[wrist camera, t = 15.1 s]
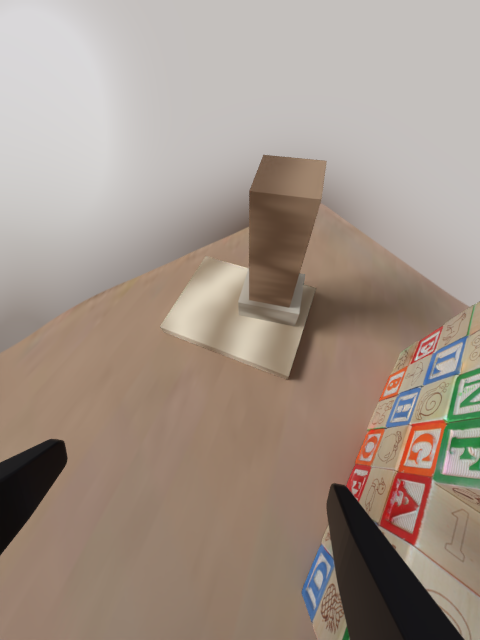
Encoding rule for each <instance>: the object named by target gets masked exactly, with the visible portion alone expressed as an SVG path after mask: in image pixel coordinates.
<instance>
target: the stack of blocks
mask: <svg viewBox="0 0 480 640" xmlns="http://www.w3.org/2000/svg"><path fill="white" fill-rule="evenodd" d="M367 430H368V432H367V435H366V436H365V440H364V442H363V445H362V447H361V449H360V452H359V454H358V456H357V459H356V461H355V466H354V468H353V471H352V473H351V475H350V478H349V480H348V483H347V485H346V487H347V488H348V489H349V490H350V491H351V493H352V494H353V495H354V497H355V498H356V499H357V500H358V502H359V503H360V504H361V506H362V507H363V508H364V510H365V511H366V512H367V513H368V515H369V516H370V517H371V519H372V520H373V521H374V522H375V524H376V525H377V526H378V528H379V529H380V530H381V532H382V533H383V534H384V535H385V537H386V538H387V539H388V541H389V542H390V543H391V545H392V546H393V547H394V548H395V550H396V551H397V552H398V554H399V555H400V556H401V558H402V559H403V560H404V561H405V563H406V564H407V565H408V567H409V568H410V569H411V571H412V572H413V573H414V574H415V576H416V577H417V578H418V580H419V581H420V582H421V584H422V585H423V586H424V587H425V589H426V590H427V591H428V593H429V594H430V595H431V596H432V598H433V599H434V600H435V602H436V603H437V604H438V606H439V607H440V608H441V609H442V611H443V612H444V613H445V615H446V616H447V617H448V619H449V620H450V621H451V622H452V624H453V625H454V626H455V628H456V629H457V630H458V632H459V633H460V634H461V635H462V637H463V638H464V639H465V640H480V302H479V303H477V304H474V305H472V306H471V307H469V308H468V309H466V310H465V311H463V312H461V313H460V314H458V315H457V316H456V317H454V318H452V319H451V320H449V321H448V322H446V323H445V324H444V326H442V327H440V328H439V329H437V330H435V331H434V332H432V333H431V334H429V335H428V336H426V337H425V338H423V339H422V340H420V341H417V342H415V343H414V344H412V345H411V346H409V347H408V348H407V349H405V350H404V351H402V352H401V353H400V355H399V358H398V360H397V362H396V365H395V367H394V369H393V372H392V374H391V375H390V376H389V379H388V381H387V383H386V386H385V388H384V390H383V393H382V395H381V397H380V400H379V403H378V405H377V407H376V409H375V411H374V414H373V416H372V418H371V421H370V423H369V426H368V429H367ZM302 596H303V599H304V601H305V604H306V607H307V610H308V613H309V616H310V619H311V622H312V623H313V628H314V631H315V634H316V636H317V639H318V640H350V637H349V633H348V629H347V624H346V620H345V615H344V611H343V606H342V602H341V597H340V593H339V588H338V583H337V578H336V572H335V566H334V559H333V552H332V544H331V537H330V530H329V524H328V527H327V529H326V532H325V534H324V536H323V539H322V543H321V546H320V548H319V550H318V552H317V554H316V557H315V559H314V562H313V564H312V567H311V569H310V572H309V574H308V577H307V579H306V582H305V584H304V586H303V589H302Z"/></svg>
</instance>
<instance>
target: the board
mask: <svg viewBox="0 0 480 640" xmlns="http://www.w3.org/2000/svg"><path fill="white" fill-rule="evenodd" d="M247 272H248V268H245V267H242V266H238V265H235V264H232V263H228V262H225V261H221V260H218V259H214V258H211V257H208V256H206V257H205V258H204V260H203V261H202V263H201V264H200V266H199V268H198V269H197V271H196V272H195V274H194V275H193V277H192V278H191V280H190V281H189V283H188V284H187V286H186V287H185V289H184V291H183V292H182V294H181V295H180V297H179V298H178V300H177V301H176V303H175V304H174V306H173V307H172V309H171V311H170V312H169V314H168V315H167V317H166V318H165V320H164V321H163V323H162V324H161V326H160V328H161V329H162V331H163V332H165V333H167V334H170V335H173V336H175V337H178V338H180V339H183V340H185V341H188V342H191V343H193V344H196V345H198V346H201V347H203V348H206V349H209V350H211V351H214V352H216V353H219V354H221V355H224V356H227V357H229V358H232V359H234V360H237V361H239V362H242V363H245V364H247V365H250V366H252V367H255V368H257V369H260V370H263V371H265V372H268V373H270V374H273V375H275V376H278V377H281V378H283V379H286V380H287V378H288V377H289V374H290V370H291V367H292V364H293V361H294V358H295V355H296V351H297V348H298V345H299V342H300V339H301V335H302V332H303V329H304V326H305V323H306V319H307V316H308V313H309V310H310V307H311V303H312V300H313V297H314V294H315V291H316V288H314V287H311V286H307V285H304V286H303V293H302V299H301V306H300V312H299V316H298V319H297V321H296V324H295V326H290V325H285V324H280V323H275V322H270V321H265V320H261V319H256V318H251V317H246V316H241V315H239V309H238V301H239V297H240V294H241V291H242V288H243V285H244V281H245V278H246V275H247Z"/></svg>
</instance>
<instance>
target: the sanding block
mask: <svg viewBox="0 0 480 640" xmlns="http://www.w3.org/2000/svg"><path fill="white" fill-rule="evenodd" d="M325 169H326V161H322V160H311V159H301V158H291V157H279V156H269V155H263V158H262V160H261V163H260V165H259V168H258V170H257V173H256V176H255V178H254V181H253V183H252V186H251V188H250V191H249V195H250V196H249V197H250V198H249V201H250V202H249V209H250V210H249V268H248V272H247V275H246V278H245V281H244V285H243V288H242V291H241V294H240V297H239V301H238V309H239V315H241V316H246V317H251V318H256V319H261V320H265V321H270V322H275V323H280V324H285V325H290V326H295V324H296V321H297V319H298V316H299V312H300V306H301V299H302V293H303V286H304V279H305V274H300V270H301V267H302V264H303V260H304V257H305V253H306V250H307V247H308V243H309V240H310V236H311V233H312V230H313V226H314V223H315V219H316V216H317V213H318V209H319V206H320V202H321V199H322V191H323V184H324V176H325Z"/></svg>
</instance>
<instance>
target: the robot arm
mask: <svg viewBox="0 0 480 640" xmlns="http://www.w3.org/2000/svg"><path fill="white" fill-rule="evenodd" d="M66 463H67V453H66V447H65V443H64V441H63V440H58V439H49V440H47V441H45V442H43V443H41V444H39V445H36V446H34V447H32V448H30V449H28V450H26V451H24V452H22V453H20V454H17V455H15V456H13V457H11V458H9V459H7V460H5V461H3V462H1V463H0V555H1V554H2V553H3V551H4V550H5V549H6V548H7V546H8V545H9V544H10V542H11V541H12V540H13V539H14V537H15V536H16V535H17V534H18V532H19V531H20V530H21V528H22V527H23V526H24V525H25V523H26V522H27V521H28V519H29V518H30V517H31V515H32V514H33V512H34V511H35V510H36V508H37V507H38V505H39V504H40V502H41V501H42V499H43V498H44V496H45V495H46V494H47V492H48V491H49V489H50V488H51V486H52V485H53V483H54V482H55V480H56V479H57V477H58V476H59V474H60V473H61V472H62V470H63V469H64V467H65V465H66ZM327 516H328V523H329V530H330V537H331V544H332V552H333V559H334V566H335V572H336V578H337V583H338V588H339V593H340V597H341V602H342V606H343V611H344V615H345V620H346V624H347V629H348V633H349V637H350V640H465V639H464V638H463V637H462V635H461V634H460V633H459V632H458V630H457V629H456V628H455V626H454V625H453V624H452V622H451V621H450V620H449V619H448V617H447V616H446V615H445V613H444V612H443V611H442V609H441V608H440V607H439V606H438V604H437V603H436V602H435V600H434V599H433V598H432V596H431V595H430V594H429V593H428V591H427V590H426V589H425V587H424V586H423V585H422V584H421V582H420V581H419V580H418V578H417V577H416V576H415V574H414V573H413V572H412V571H411V569H410V568H409V567H408V565H407V564H406V563H405V561H404V560H403V559H402V558H401V556H400V555H399V554H398V552H397V551H396V550H395V548H394V547H393V546H392V545H391V543H390V542H389V541H388V539H387V538H386V537H385V535H384V534H383V533H382V532H381V530H380V529H379V528H378V526H377V525H376V524H375V522H374V521H373V520H372V519H371V517H370V516H369V515H368V513H367V512H366V511H365V510H364V508H363V507H362V506H361V504H360V503H359V502H358V500H357V499H356V498H355V497H354V495H353V494H352V493H351V491H350V490H349V489H348V488H347V487H346V486H345V485H341V484H335V483H333V484H332V485H331V487H330V491H329V495H328V499H327Z"/></svg>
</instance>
